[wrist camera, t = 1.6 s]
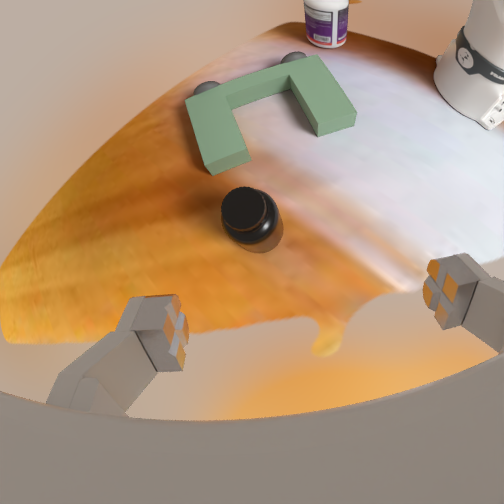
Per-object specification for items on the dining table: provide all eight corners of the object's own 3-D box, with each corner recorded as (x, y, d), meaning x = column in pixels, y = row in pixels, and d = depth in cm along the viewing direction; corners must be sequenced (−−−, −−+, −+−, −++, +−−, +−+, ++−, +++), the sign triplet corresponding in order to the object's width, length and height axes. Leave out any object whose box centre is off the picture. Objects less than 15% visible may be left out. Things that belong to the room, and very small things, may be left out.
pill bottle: (335, 25, 46) (336, -26, 32) (353, 47, 44) (358, -8, 30) (300, 31, 47) (294, -22, 33) (315, 53, 45) (313, -4, 31)
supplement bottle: (228, 221, 43) (201, 195, 31) (270, 199, 42) (257, 165, 31) (249, 263, 42) (227, 250, 30) (292, 240, 41) (287, 219, 29)
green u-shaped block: (314, 65, 45) (314, 46, 40) (353, 126, 42) (357, 108, 37) (191, 108, 48) (181, 92, 43) (212, 175, 45) (202, 162, 40)
